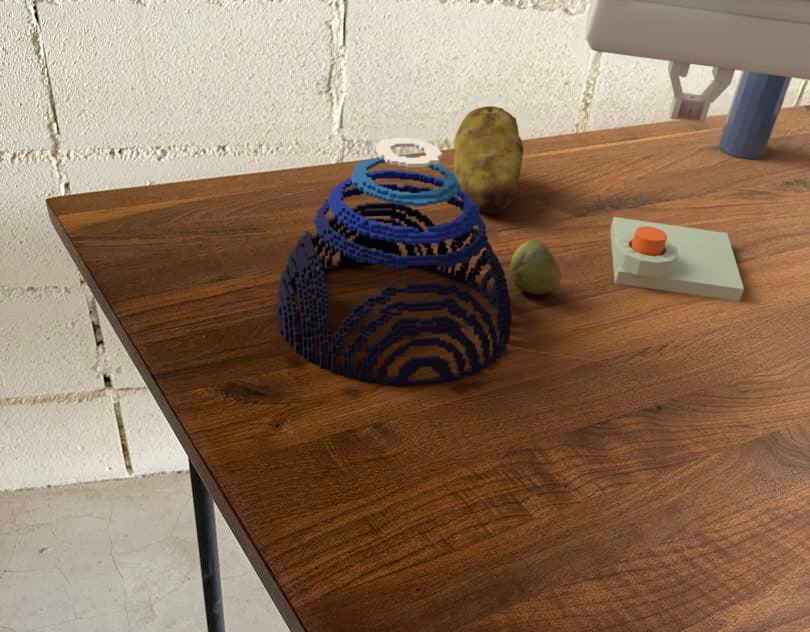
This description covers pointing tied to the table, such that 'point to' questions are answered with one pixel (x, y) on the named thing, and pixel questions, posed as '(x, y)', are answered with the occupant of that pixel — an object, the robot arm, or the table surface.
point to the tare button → (649, 241)
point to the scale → (677, 261)
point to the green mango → (535, 268)
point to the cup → (753, 114)
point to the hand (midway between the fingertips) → (685, 119)
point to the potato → (488, 158)
